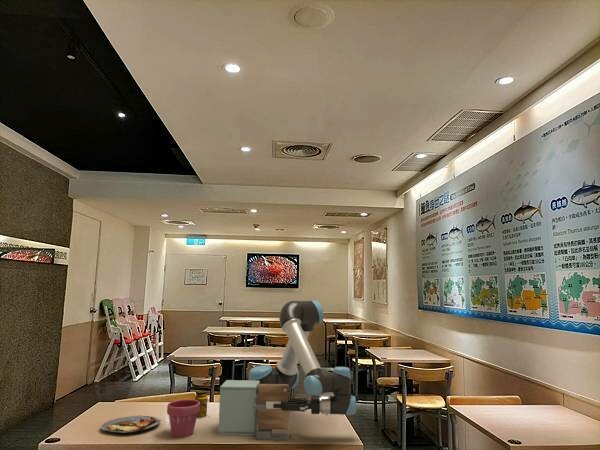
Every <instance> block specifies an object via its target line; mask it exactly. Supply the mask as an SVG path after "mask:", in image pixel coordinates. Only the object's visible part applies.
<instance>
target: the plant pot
mask: <svg viewBox="0 0 600 450" xmlns="http://www.w3.org/2000/svg"><path fill="white" fill-rule="evenodd" d="M199 411H200V402H199V401H197V400H195V399H180V400H179V399H177V400H173V401H171V402H169V403H167V406H166V414H167V415H168V416H169V417H168V419H169V424H170V430H171V431H170V432H171V436H172V437H176V438H182V437H189V436H191V435H193V434H194V432H195V426H196V421H197V419H196V418H197V414H198V412H199Z"/></svg>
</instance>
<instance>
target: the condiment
mask: <svg viewBox="0 0 600 450" xmlns="http://www.w3.org/2000/svg"><path fill="white" fill-rule="evenodd" d="M194 400H197V401H199V402H200V411H199V412H198V414H197V418H196V420H197V419H204V418H209V417H210V415H208V414H207V413H208V391H207V390H204V389H203V390H200V389H199V390H197V391H196V392H195V398H194Z"/></svg>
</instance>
